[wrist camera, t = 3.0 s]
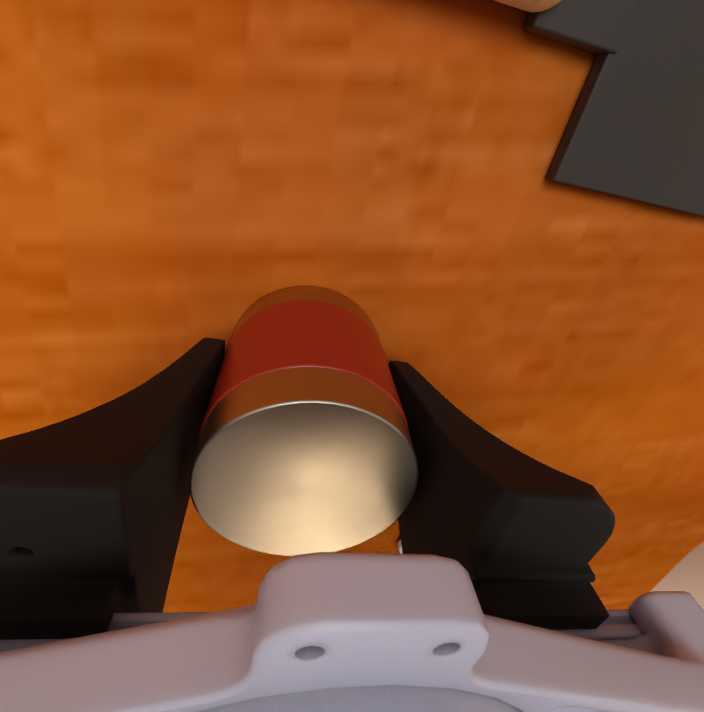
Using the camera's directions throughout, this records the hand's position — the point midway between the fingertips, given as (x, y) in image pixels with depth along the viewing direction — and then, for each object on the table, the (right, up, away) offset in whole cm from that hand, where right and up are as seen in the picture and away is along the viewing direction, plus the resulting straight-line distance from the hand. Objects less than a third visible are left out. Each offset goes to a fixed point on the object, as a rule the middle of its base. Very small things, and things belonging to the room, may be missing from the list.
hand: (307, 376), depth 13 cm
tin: (0, +1, +1) cm, 1 cm away
